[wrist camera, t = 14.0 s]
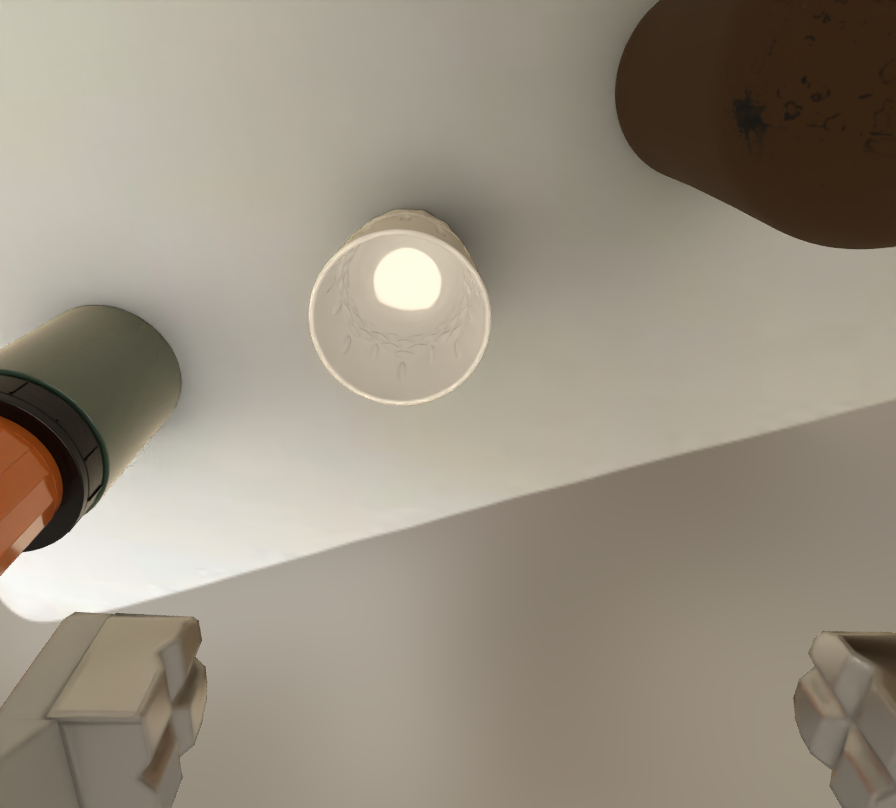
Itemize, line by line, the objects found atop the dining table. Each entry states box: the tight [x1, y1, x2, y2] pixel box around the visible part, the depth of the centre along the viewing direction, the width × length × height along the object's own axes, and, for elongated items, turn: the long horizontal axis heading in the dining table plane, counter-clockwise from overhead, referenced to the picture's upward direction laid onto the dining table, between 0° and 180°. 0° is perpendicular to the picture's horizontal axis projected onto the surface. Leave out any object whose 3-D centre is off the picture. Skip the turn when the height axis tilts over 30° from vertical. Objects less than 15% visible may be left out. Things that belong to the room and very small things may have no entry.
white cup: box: [309, 209, 491, 405], centre depth 33 cm, size 8×8×10 cm
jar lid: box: [0, 375, 103, 552], centre depth 30 cm, size 8×8×2 cm
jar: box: [0, 305, 181, 515], centre depth 35 cm, size 8×8×12 cm
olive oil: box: [615, 0, 896, 249], centre depth 23 cm, size 11×11×25 cm
